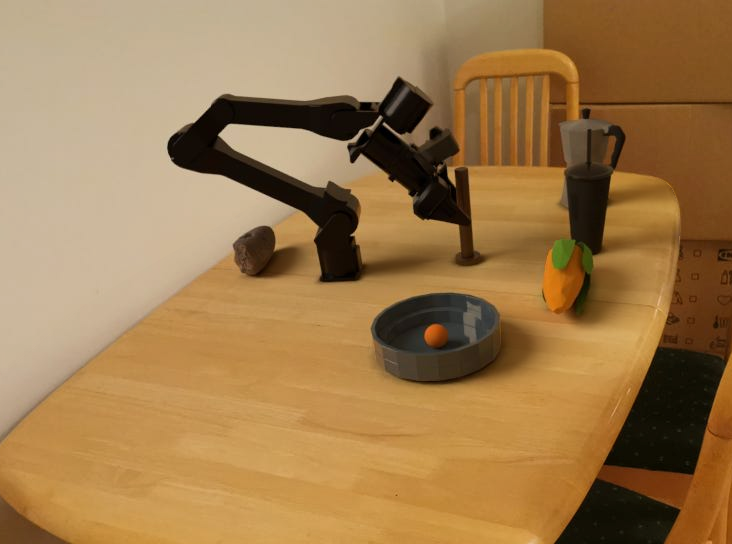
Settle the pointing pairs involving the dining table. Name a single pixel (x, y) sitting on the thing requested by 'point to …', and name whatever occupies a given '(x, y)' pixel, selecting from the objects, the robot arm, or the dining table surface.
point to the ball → (436, 336)
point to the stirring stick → (463, 201)
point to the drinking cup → (588, 199)
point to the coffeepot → (577, 142)
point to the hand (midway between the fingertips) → (468, 214)
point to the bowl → (454, 359)
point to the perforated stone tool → (254, 249)
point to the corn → (567, 275)
